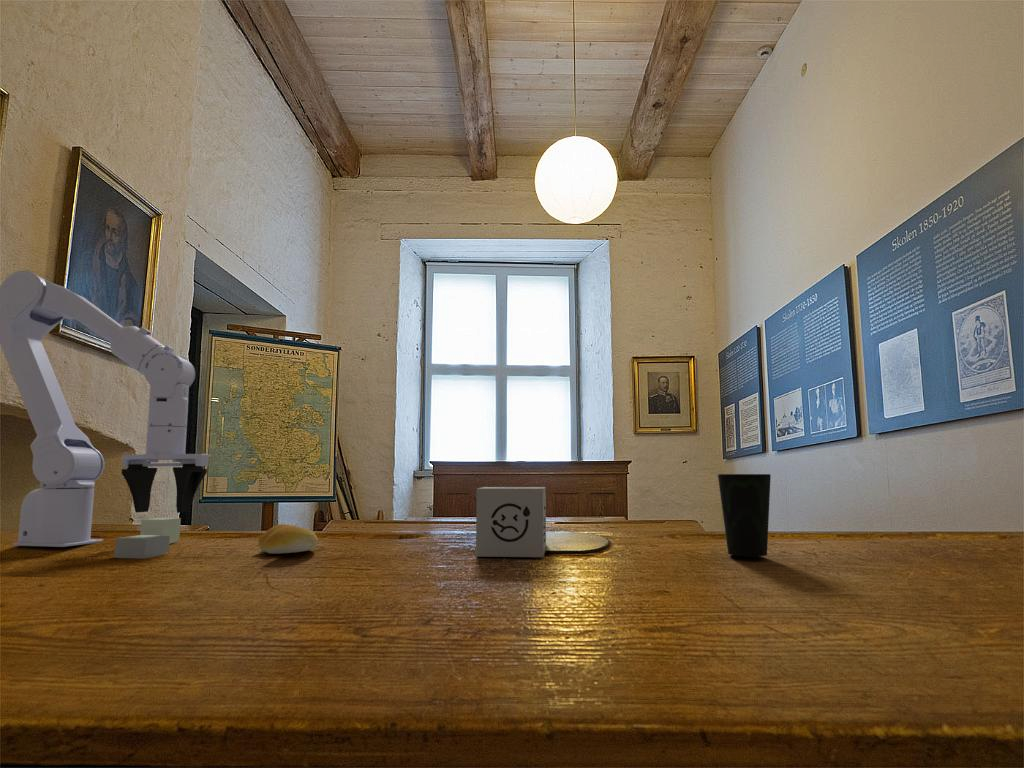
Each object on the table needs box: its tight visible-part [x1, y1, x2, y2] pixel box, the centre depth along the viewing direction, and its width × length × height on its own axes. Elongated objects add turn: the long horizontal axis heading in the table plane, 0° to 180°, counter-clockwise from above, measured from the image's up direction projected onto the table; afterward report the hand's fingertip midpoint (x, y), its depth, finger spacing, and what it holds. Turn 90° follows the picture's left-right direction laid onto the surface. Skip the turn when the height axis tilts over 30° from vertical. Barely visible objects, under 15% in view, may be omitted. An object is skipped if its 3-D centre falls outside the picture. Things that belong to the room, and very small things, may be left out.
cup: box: [717, 473, 772, 557], centre depth 104 cm, size 8×8×12 cm
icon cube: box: [475, 486, 547, 558], centre depth 106 cm, size 10×10×10 cm
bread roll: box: [257, 523, 319, 555], centre depth 103 cm, size 8×9×4 cm
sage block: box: [139, 517, 182, 544], centre depth 108 cm, size 4×4×5 cm
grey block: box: [114, 534, 170, 559], centre depth 101 cm, size 5×5×3 cm
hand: (162, 512), depth 109 cm, fingers open, 7 cm apart
